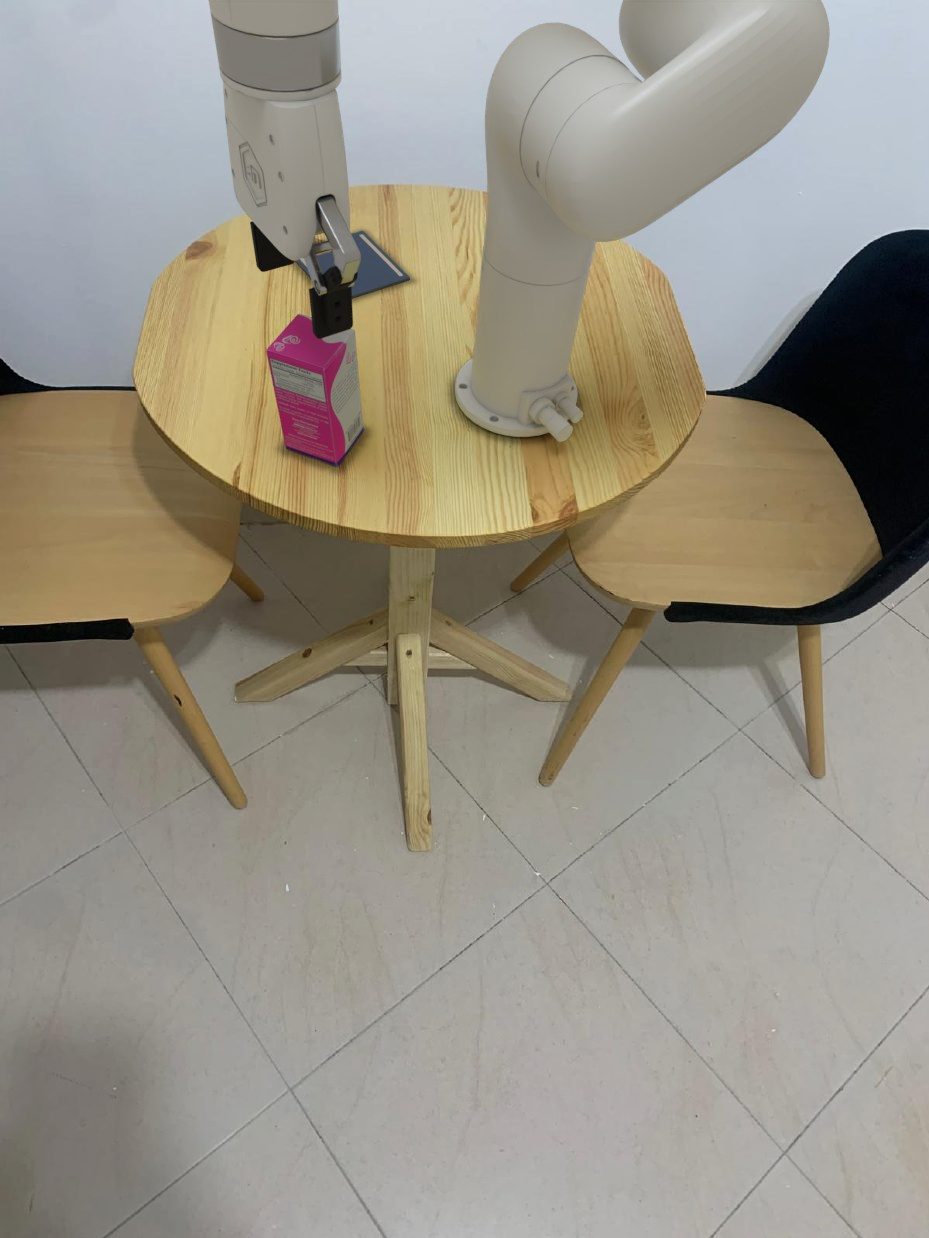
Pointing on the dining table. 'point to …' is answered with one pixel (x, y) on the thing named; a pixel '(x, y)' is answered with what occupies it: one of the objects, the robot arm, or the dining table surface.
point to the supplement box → (317, 390)
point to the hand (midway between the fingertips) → (303, 298)
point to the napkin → (366, 267)
